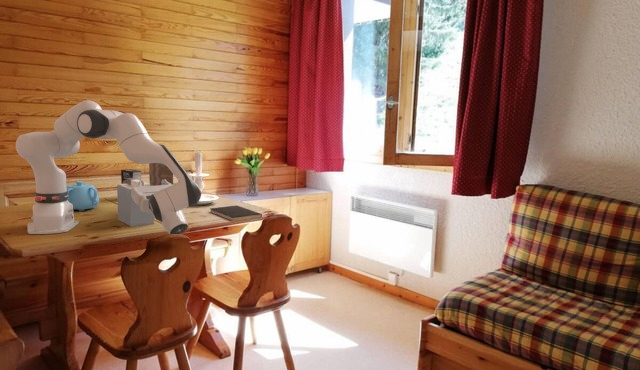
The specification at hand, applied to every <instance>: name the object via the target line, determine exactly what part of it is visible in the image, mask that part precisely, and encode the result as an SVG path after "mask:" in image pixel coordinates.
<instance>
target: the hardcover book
mask: <svg viewBox="0 0 640 370" xmlns="http://www.w3.org/2000/svg"><path fill="white" fill-rule="evenodd" d="M209 210H210V213H213V214H215V215H217V216H220V217H223V218H225V219H227V220H230V221H233V222H234V221H242V220H249V219H257V218H262V217H263V215H262V213H259V212H257V211H254V210H252V209H249V208H246V207H243V206H240V205H229V206H221V207H220V206H219V207H211V208H209Z"/></svg>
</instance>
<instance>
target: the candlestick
mask: <svg viewBox="0 0 640 370" xmlns="http://www.w3.org/2000/svg"><path fill="white" fill-rule="evenodd" d="M194 168H195V173H187V174H188V175H189V176H190V177H191V178H195V181H194V182H195V183H196V184H197V185H198V186H199V188H200V191H201V192H202V191H203V190H204V189H205V183H204V181H203V178H205V177H208V176H210V174H209V173H203V152H202V153H201V152H199V151H198V152H195V153H194ZM201 194H202V193H201ZM219 198H220V197H219V196H218V195H214V194H204V193H203V194H202V195H201V198H200V200H199V202H198V203H197V204H196V205H209V204H210V203H213V202H215V201H216V200H218V199H219Z"/></svg>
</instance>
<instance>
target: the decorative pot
mask: <svg viewBox="0 0 640 370" xmlns="http://www.w3.org/2000/svg"><path fill="white" fill-rule="evenodd" d="M66 186H67V191H68V201H69V202H70V203H71V204H72V205H73V210H78V212H85V211H86V210H91V209H92V210H93V209H95V207H97V206H98V205H99V203H100V198H99V194H98V193H99V192H98V189H97V188H96V187H95V186H94V185H93V184H91V183H90V184H84V181H81V180H78V181H76V182H75V183H74V184H66Z"/></svg>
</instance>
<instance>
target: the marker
mask: <svg viewBox="0 0 640 370" xmlns="http://www.w3.org/2000/svg"><path fill="white" fill-rule="evenodd" d="M139 181H140V180H137V179H134V178H127V184H128V185H131V186H133V187H139V185H138V183H139ZM143 182H144V186H150V182H145V181H143Z"/></svg>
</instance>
